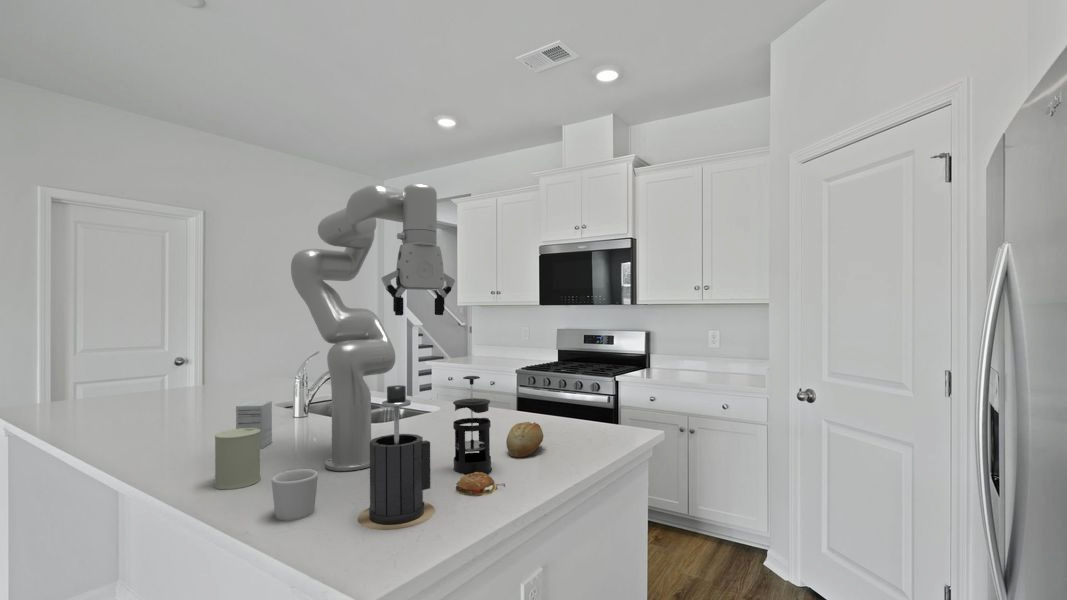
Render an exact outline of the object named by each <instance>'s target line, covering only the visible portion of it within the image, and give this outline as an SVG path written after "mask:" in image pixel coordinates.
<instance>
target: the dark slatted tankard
mask: <svg viewBox="0 0 1067 600" xmlns="http://www.w3.org/2000/svg"><path fill="white" fill-rule="evenodd" d="M429 489H431V441H429V440H427V439H426V440H423V436H421V435H419V434H413V433H399V445H394V433H393V434H387V435H381V436H377V437H375V438H373V439H372V438H371V442H370V467H369V507H368V508H369V519H370V521H372V522H373V523H376V524H381V525H398V524H404V523H408V522H411V521H414V520H416V519H418V518H420V517H421V516H422V515H423V514H424V502H425V501H424V491H425V490H426V491H427V490H429Z"/></svg>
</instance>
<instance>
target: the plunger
mask: <svg viewBox="0 0 1067 600" xmlns="http://www.w3.org/2000/svg"><path fill="white" fill-rule="evenodd" d="M406 390H407V386H406V385H397V384H396V385H389V386H386V400H384V401H382V402H381V407H383V408H393V416H394V417H393V434H394V445H399V434H400V408H402V407H408V406H411V403H412V402H411V401H412V400H410V399H407V398H406V397H407V395H406V393H407V392H406Z"/></svg>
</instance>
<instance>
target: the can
mask: <svg viewBox="0 0 1067 600" xmlns="http://www.w3.org/2000/svg"><path fill="white" fill-rule="evenodd" d="M214 450H215V451H214V452H215V453H214V455H215V456H214V457H215V458H214V460H215V461H214V463H215V465H214V470H215V471H214V485H213V487H214V488H215V489H217V490H223V491H224V490H237V489H243V488H247V487H250V486H253V485H255V484H257V483H259V482H260V481H261V478H262V477H261V459H260V458H261V454H260V453H261V449H260V429H257V428H240V429H236V428H234V429H227V430H223V431H220V432H217V433H216V434H214Z"/></svg>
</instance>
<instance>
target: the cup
mask: <svg viewBox="0 0 1067 600" xmlns="http://www.w3.org/2000/svg"><path fill="white" fill-rule="evenodd" d="M318 477H319V472H318V471H316V470H314V469H310V468H298V469H292V470H291V469H290V470H287V471H282V472H280V473H278V474H276V475H274V476H273V477H272V478H271V489H272V498H273V507H274V513H275V516H276V519H277V520H279V521H296V520H300V519H304V518H306V517H309V516H310V515H312V514H313V513H314V511H315V507H316V499H317V489H318V480H319V478H318Z"/></svg>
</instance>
